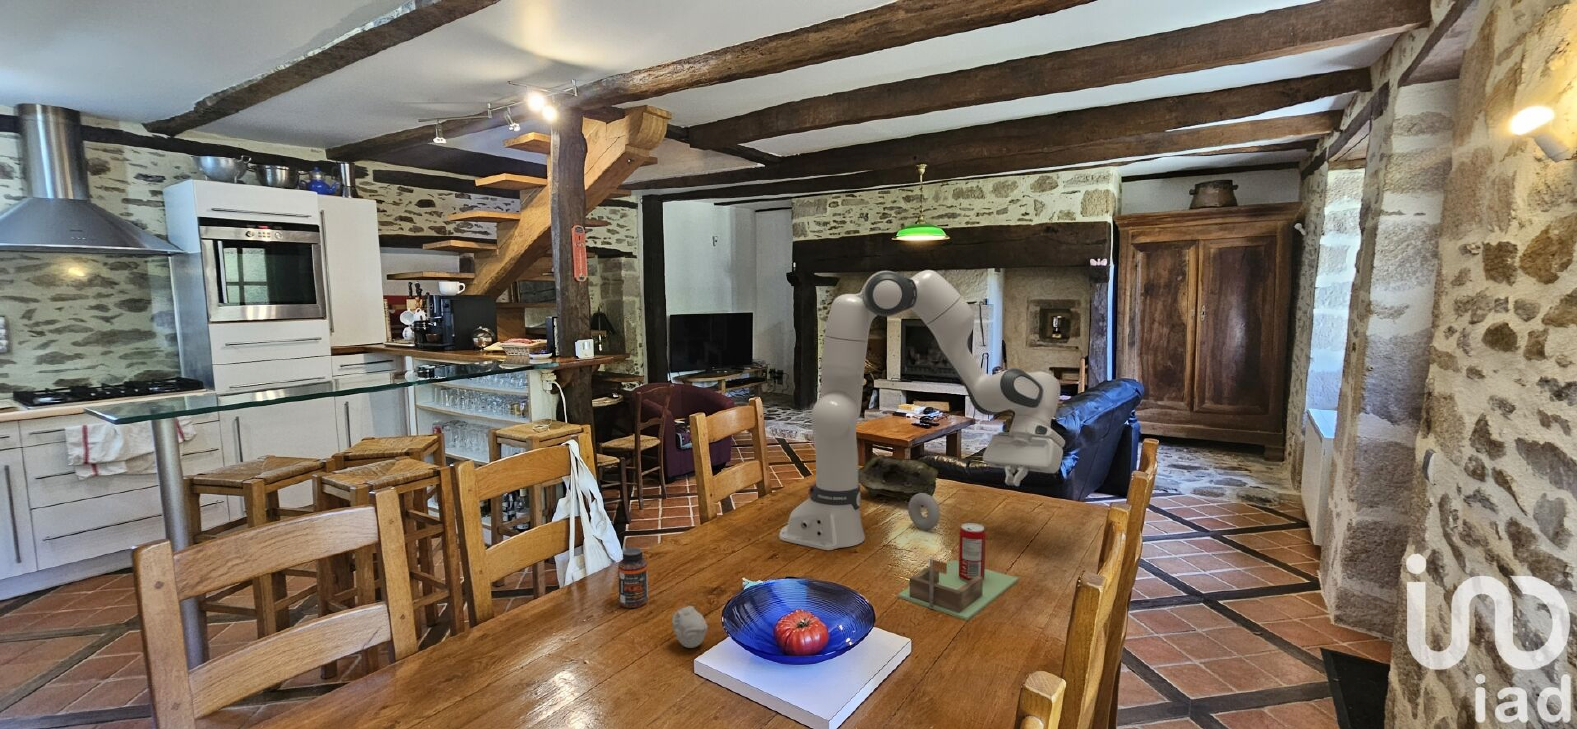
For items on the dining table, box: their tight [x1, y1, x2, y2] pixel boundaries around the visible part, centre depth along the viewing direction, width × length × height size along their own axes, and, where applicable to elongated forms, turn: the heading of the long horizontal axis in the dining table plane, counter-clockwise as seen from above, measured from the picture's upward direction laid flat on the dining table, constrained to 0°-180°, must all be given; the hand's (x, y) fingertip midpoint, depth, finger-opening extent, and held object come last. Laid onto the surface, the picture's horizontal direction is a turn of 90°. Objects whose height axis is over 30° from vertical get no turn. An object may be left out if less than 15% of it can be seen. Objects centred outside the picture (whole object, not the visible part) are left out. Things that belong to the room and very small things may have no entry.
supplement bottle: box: [617, 547, 649, 609], centre depth 141 cm, size 6×6×11 cm
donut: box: [907, 493, 941, 531], centre depth 182 cm, size 10×4×10 cm, turn 40°
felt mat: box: [897, 559, 1019, 622], centre depth 146 cm, size 24×16×1 cm, turn 138°
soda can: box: [958, 522, 987, 582], centre depth 149 cm, size 6×6×12 cm
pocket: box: [909, 557, 983, 613], centre depth 140 cm, size 12×11×10 cm
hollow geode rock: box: [858, 454, 939, 508], centre depth 208 cm, size 28×13×15 cm
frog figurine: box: [671, 605, 709, 649], centre depth 124 cm, size 6×7×7 cm
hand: (1011, 484), depth 163 cm, fingers closed
